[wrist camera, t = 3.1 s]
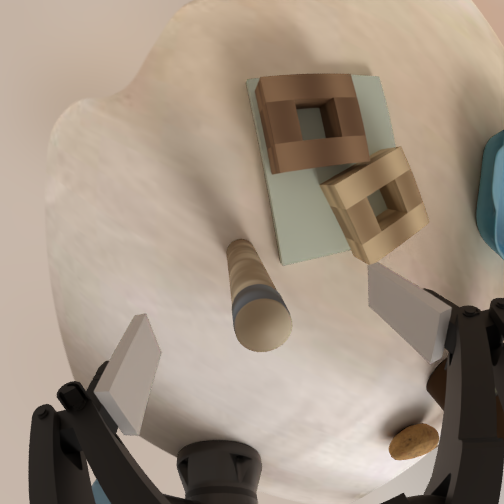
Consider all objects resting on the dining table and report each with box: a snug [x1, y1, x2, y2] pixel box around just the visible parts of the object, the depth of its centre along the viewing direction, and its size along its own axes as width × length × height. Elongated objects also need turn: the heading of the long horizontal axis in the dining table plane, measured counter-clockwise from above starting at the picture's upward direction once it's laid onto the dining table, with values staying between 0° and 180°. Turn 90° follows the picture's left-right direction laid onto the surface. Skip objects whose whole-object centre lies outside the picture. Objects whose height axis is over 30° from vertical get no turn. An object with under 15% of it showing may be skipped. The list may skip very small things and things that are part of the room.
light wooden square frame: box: [319, 147, 429, 265], centre depth 26 cm, size 9×9×4 cm
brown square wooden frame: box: [255, 74, 370, 175], centre depth 24 cm, size 9×9×4 cm
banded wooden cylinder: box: [227, 239, 292, 352], centre depth 22 cm, size 3×3×16 cm
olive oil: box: [427, 359, 504, 440], centre depth 28 cm, size 11×11×25 cm
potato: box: [389, 423, 439, 460], centre depth 39 cm, size 10×14×8 cm
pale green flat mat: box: [246, 75, 396, 266], centre depth 27 cm, size 16×20×1 cm
